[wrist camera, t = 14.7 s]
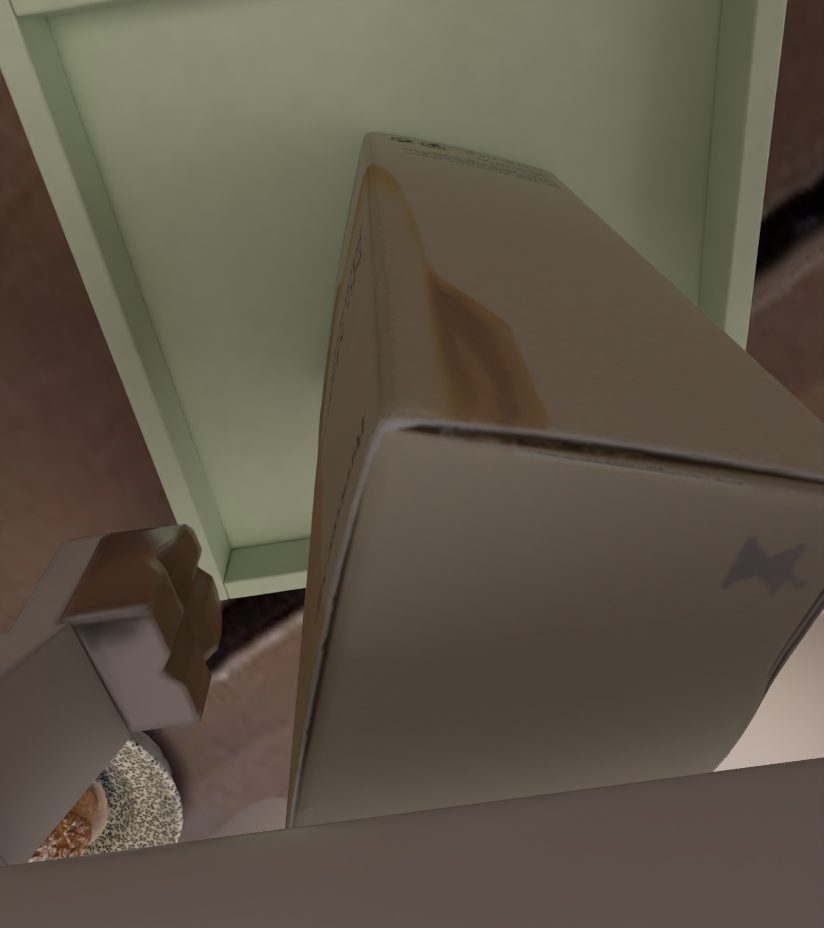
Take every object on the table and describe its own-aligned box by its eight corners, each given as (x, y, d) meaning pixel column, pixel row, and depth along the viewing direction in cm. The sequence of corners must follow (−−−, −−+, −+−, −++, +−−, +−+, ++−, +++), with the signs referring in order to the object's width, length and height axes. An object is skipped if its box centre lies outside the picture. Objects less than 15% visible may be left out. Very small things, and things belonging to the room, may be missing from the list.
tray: (748, -135, 14) (807, -158, 12) (695, 483, 21) (725, 525, 19) (15, -14, 14) (-36, -19, 12) (219, 554, 21) (206, 603, 20)
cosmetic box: (361, 124, 15) (371, 360, 5) (557, 168, 16) (952, 459, 5) (317, 397, 18) (264, 899, 8) (481, 424, 19) (634, 916, 9)
